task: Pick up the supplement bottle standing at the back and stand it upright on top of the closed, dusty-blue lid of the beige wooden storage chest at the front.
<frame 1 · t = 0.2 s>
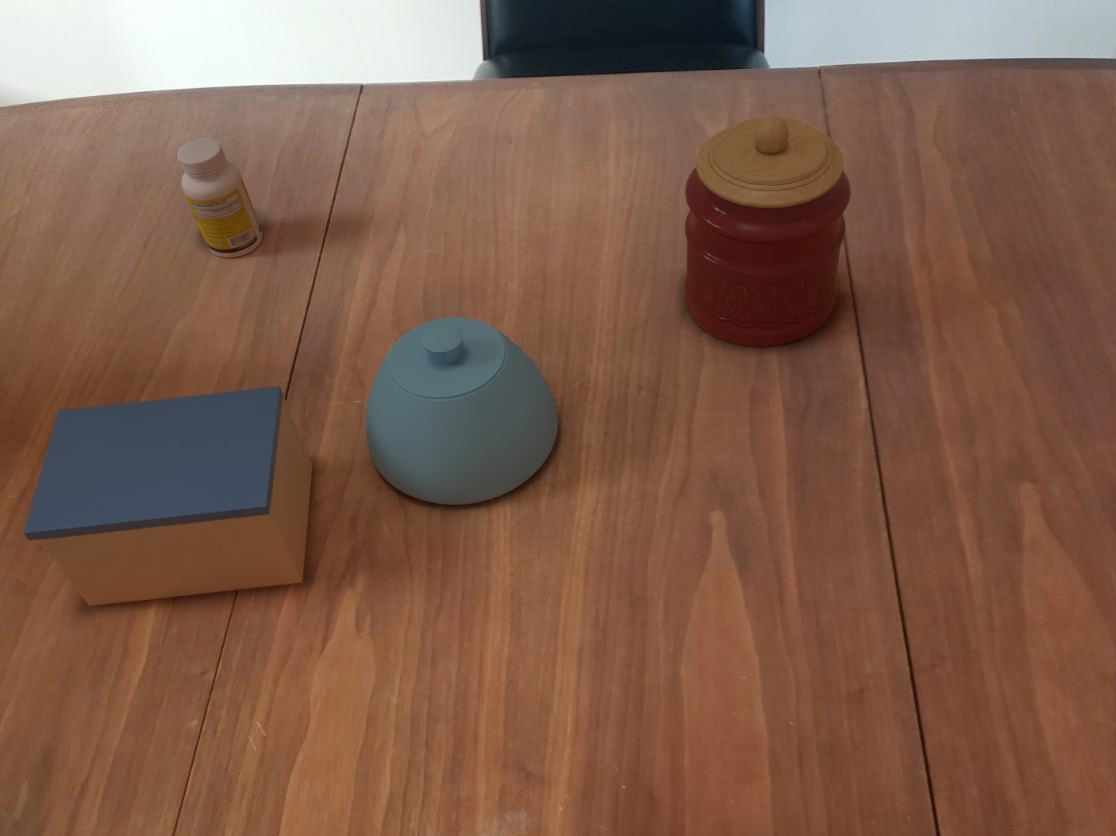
chest lid: (159, 460, 75), point 9 cm above the table, hinge at 0.0°
supplement bottle: (236, 244, 105), on the table
chest: (210, 542, 83), on the table
kitchen canister: (758, 309, 95), on the table
sugar bowl: (468, 449, 87), on the table
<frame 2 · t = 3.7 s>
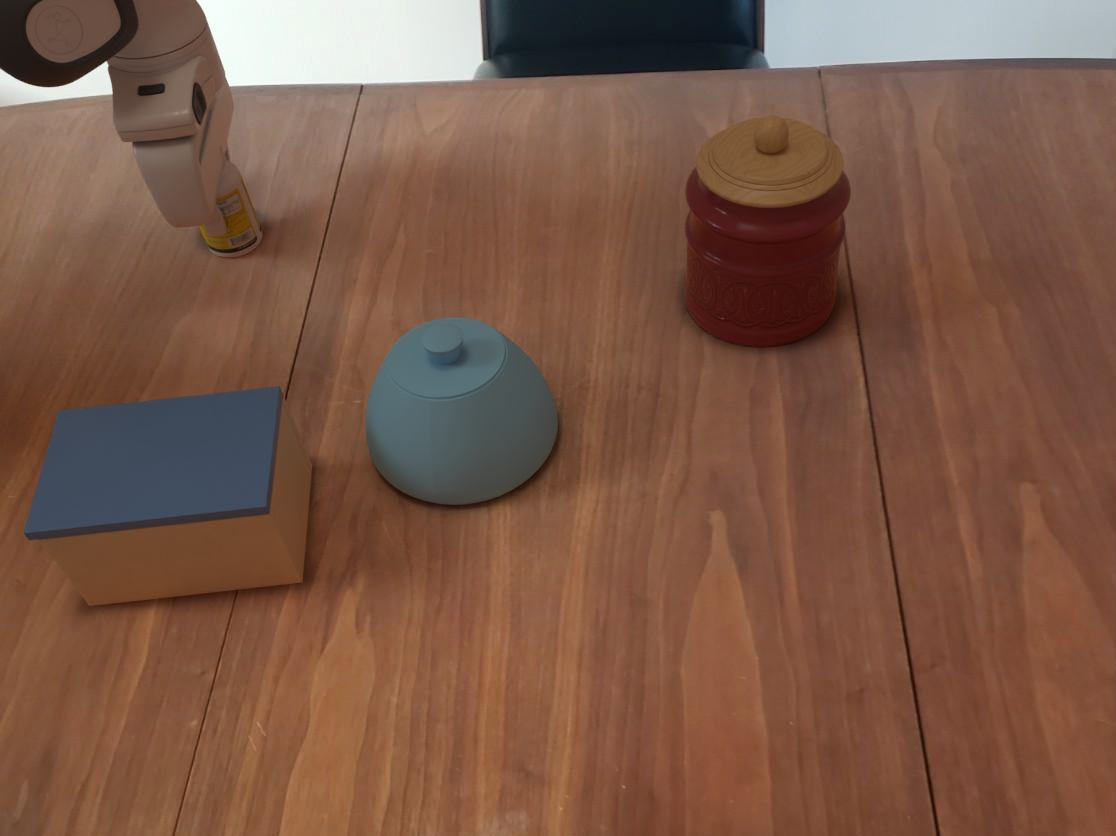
hand: (223, 209, 102), 4 cm above the table, tool pointing down, fingers closed on supplement bottle, 5 cm apart
supplement bottle: (236, 244, 105), on the table, touching gripper
everything else where it was.
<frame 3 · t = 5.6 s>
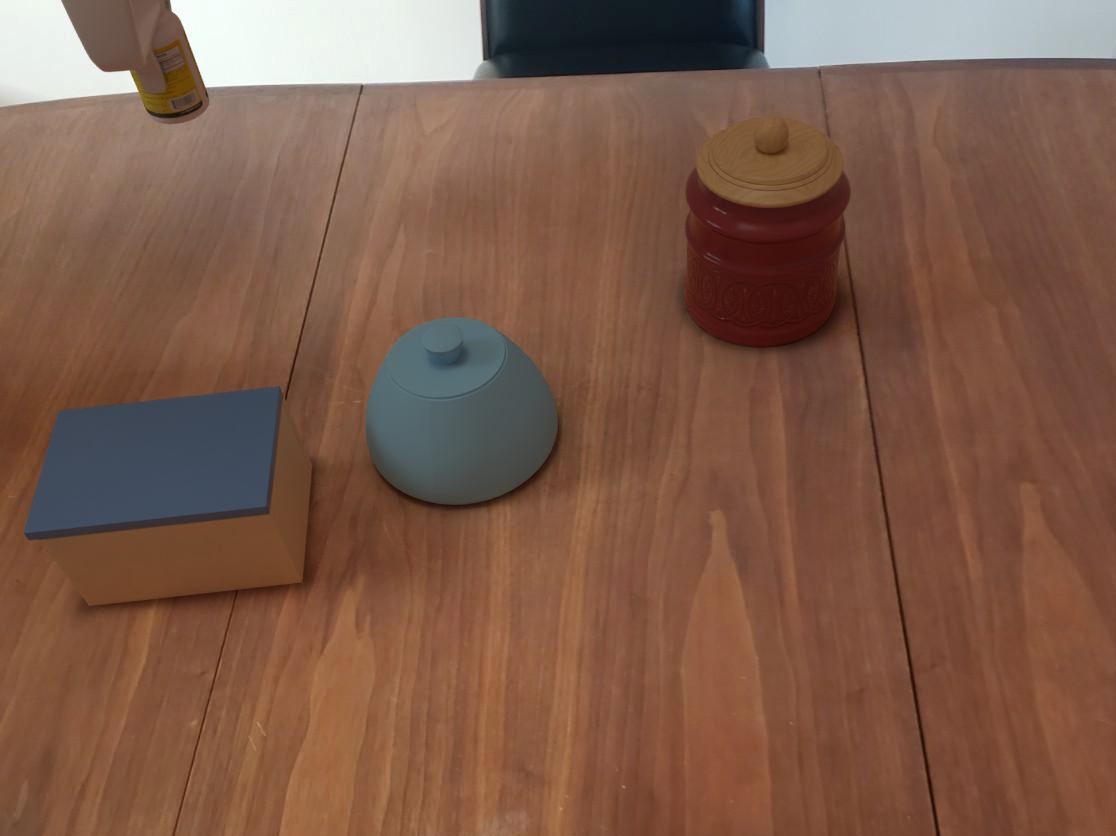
hand: (163, 68, 91), 17 cm above the table, tool pointing down, fingers closed on supplement bottle, 5 cm apart
supplement bottle: (180, 111, 94), point 13 cm above the table, touching gripper
everything else where it was.
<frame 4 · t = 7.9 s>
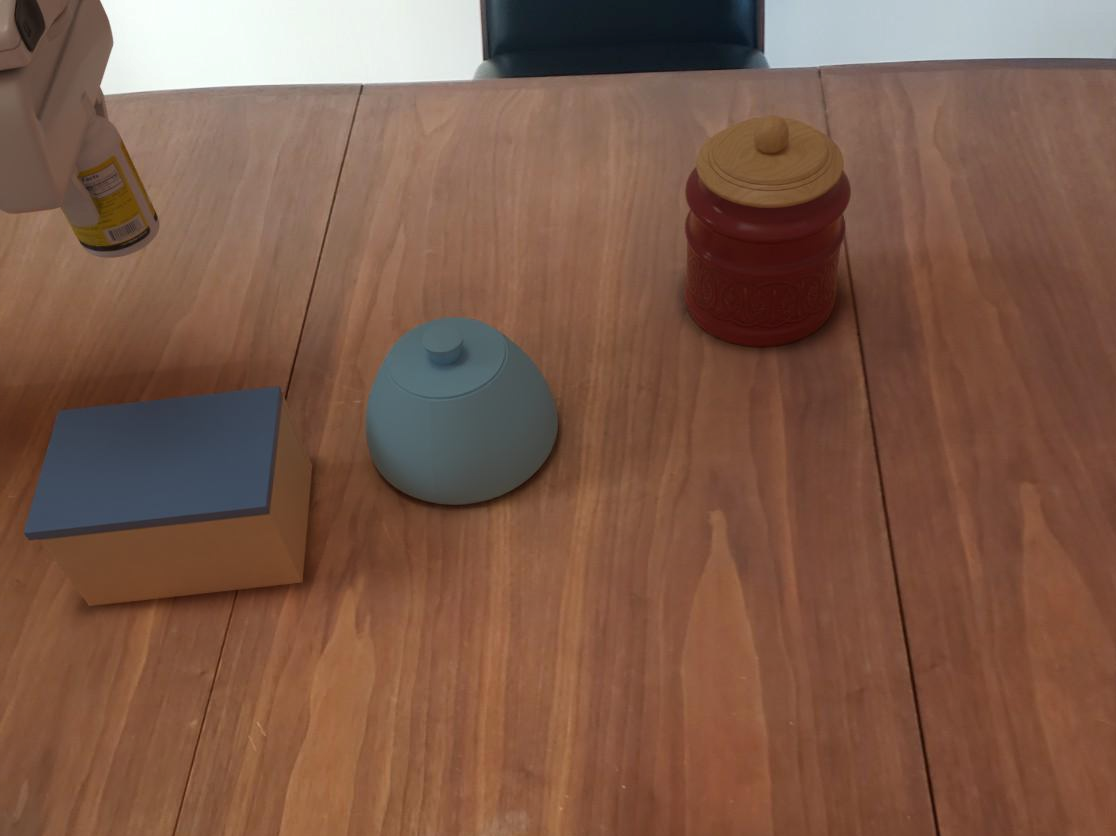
hand: (97, 189, 71), 23 cm above the table, tool pointing down, fingers closed on supplement bottle, 5 cm apart
supplement bottle: (123, 238, 74), point 19 cm above the table, touching gripper
everything else where it was.
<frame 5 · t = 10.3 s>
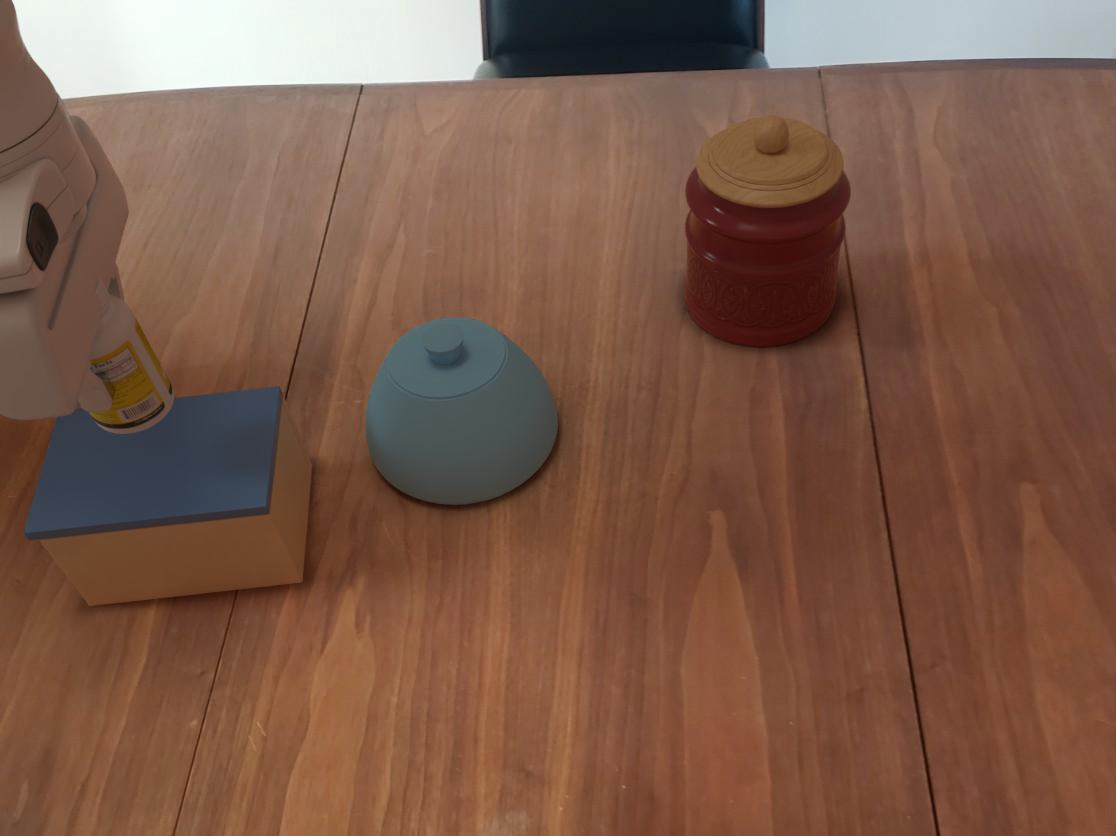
hand: (111, 366, 68), 18 cm above the table, tool pointing down, fingers closed on supplement bottle, 5 cm apart
supplement bottle: (136, 409, 72), point 14 cm above the table, touching gripper
everything else where it was.
when the fingers open (13 cm above the table, at t = 12.1 s): supplement bottle stays where it is, resting on chest lid.
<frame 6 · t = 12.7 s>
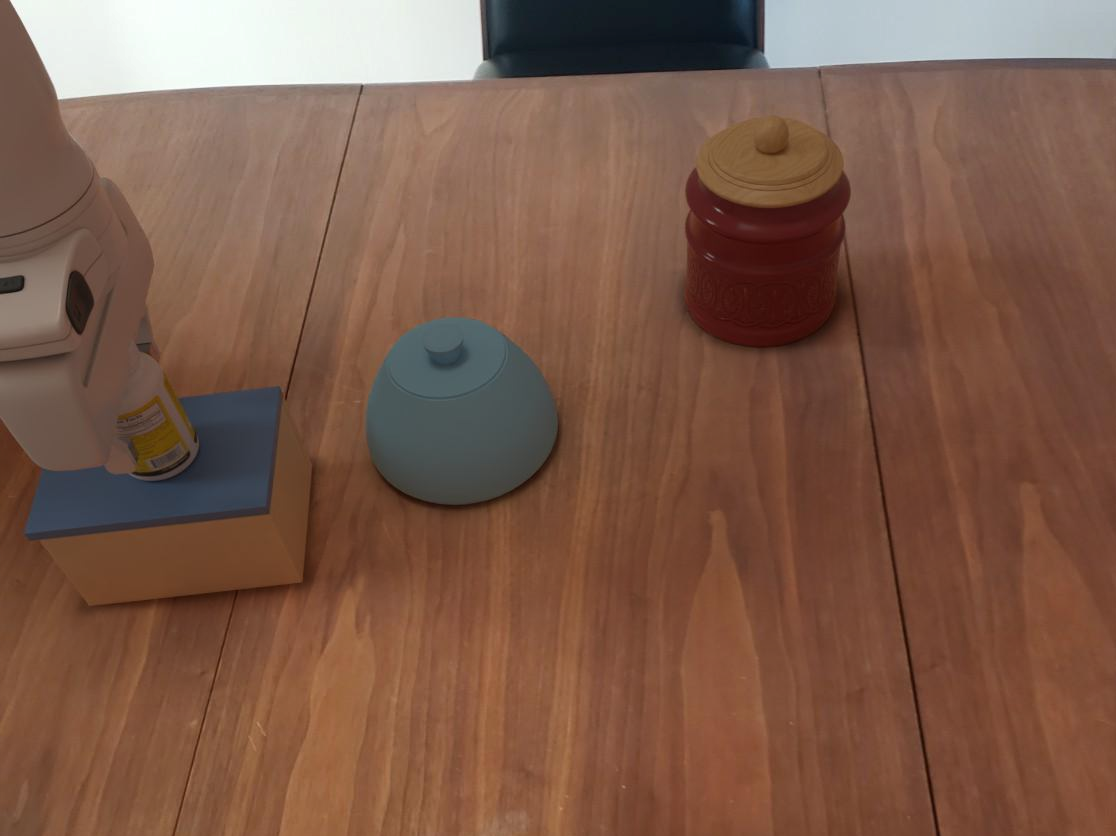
hand: (137, 413, 72), 14 cm above the table, tool pointing down, fingers open, 8 cm apart
chest lid: (159, 460, 75), point 9 cm above the table, hinge at -0.2°, touching chest, supplement bottle
supplement bottle: (163, 457, 75), point 9 cm above the table, touching chest lid
everything else where it was.
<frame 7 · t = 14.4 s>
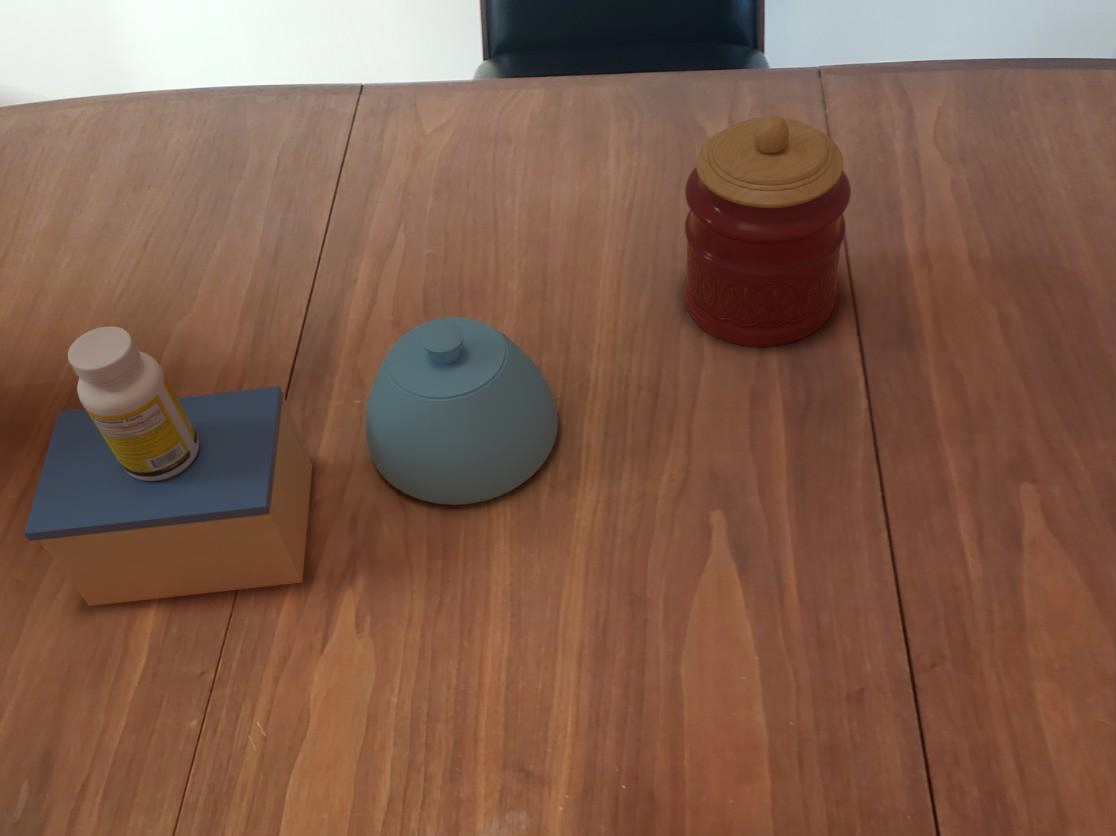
nothing on the table moved.
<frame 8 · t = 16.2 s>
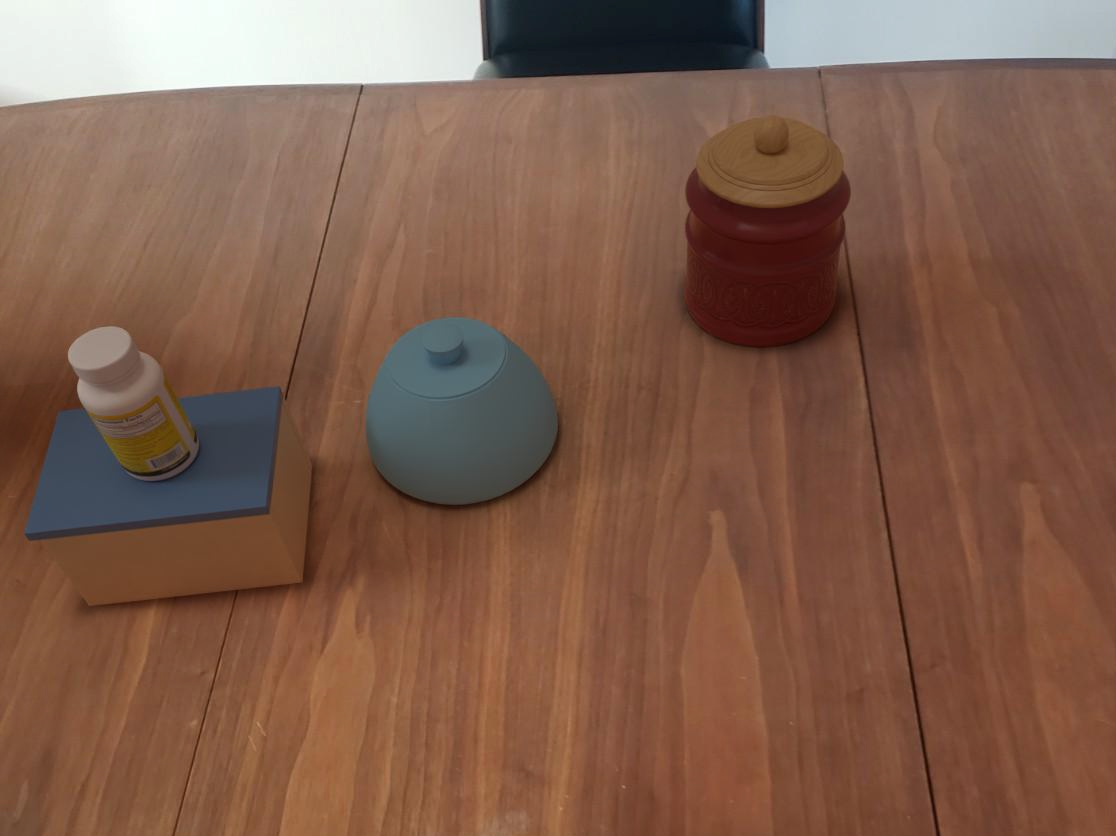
nothing on the table moved.
at the end: supplement bottle inside the target area on the chest (0.1 cm from its centre), point 9.4 cm above the chest's base; supplement bottle tilted 0°; chest lid at +0° (first picture: +0°) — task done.
